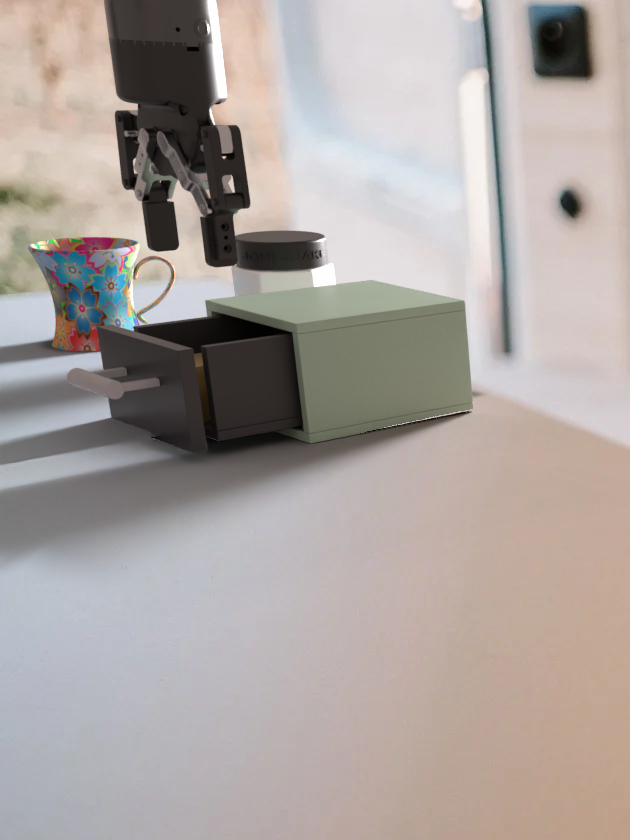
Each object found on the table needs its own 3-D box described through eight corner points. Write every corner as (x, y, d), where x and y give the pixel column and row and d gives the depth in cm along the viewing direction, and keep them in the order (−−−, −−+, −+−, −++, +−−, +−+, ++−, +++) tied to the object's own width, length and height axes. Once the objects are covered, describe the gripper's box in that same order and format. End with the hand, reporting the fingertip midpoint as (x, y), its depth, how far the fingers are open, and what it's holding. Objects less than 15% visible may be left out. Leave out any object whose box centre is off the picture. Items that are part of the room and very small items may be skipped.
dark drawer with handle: (137, 463, 119) (120, 358, 116) (57, 433, 126) (40, 333, 123) (363, 420, 132) (353, 325, 130) (280, 394, 139) (268, 304, 136)
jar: (246, 375, 149) (228, 243, 145) (242, 357, 156) (225, 231, 152) (348, 369, 153) (334, 241, 148) (340, 352, 160) (326, 229, 155)
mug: (47, 369, 149) (26, 253, 145) (47, 350, 156) (28, 238, 152) (189, 361, 154) (173, 248, 150) (183, 342, 161) (168, 234, 158)
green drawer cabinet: (310, 443, 129) (296, 323, 125) (220, 413, 136) (204, 299, 133) (473, 411, 140) (465, 300, 137) (382, 385, 148) (372, 279, 144)
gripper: (66, 28, 119) (98, 250, 126) (165, 40, 112) (194, 276, 118) (165, 30, 125) (191, 242, 131) (266, 41, 117) (289, 266, 123)
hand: (192, 258), depth 124 cm, fingers open, 8 cm apart
